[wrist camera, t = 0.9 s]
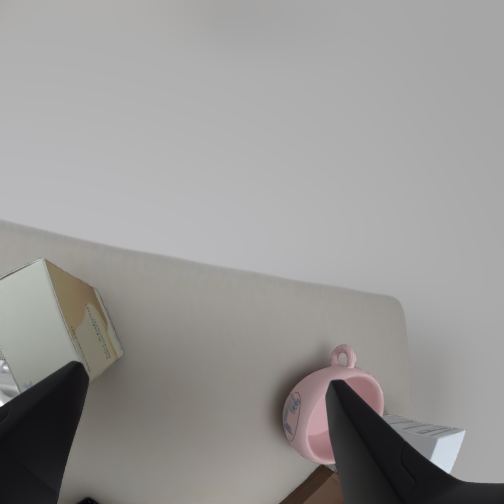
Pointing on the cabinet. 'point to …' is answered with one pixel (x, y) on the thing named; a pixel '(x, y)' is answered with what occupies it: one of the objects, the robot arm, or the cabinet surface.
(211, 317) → the cabinet surface
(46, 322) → the cosmetic box
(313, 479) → the tray
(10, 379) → the figurine
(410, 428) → the white packaging box
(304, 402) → the mug
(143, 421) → the cabinet surface
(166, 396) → the cabinet surface
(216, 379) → the cabinet surface
